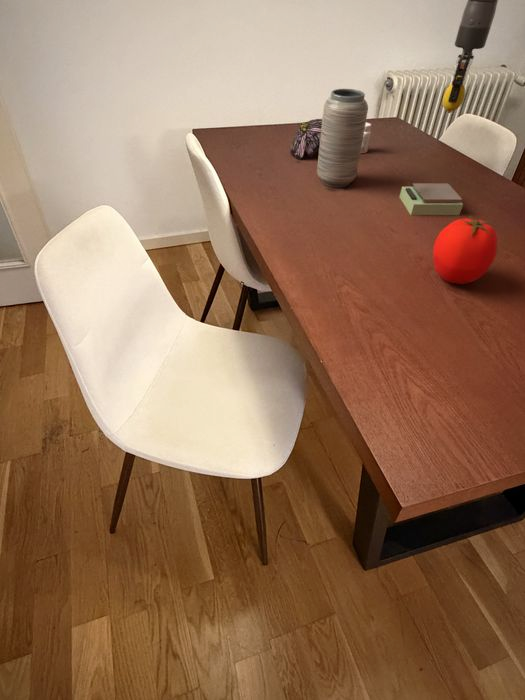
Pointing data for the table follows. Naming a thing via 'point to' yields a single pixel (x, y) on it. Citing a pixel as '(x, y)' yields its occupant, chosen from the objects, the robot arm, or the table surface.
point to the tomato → (464, 250)
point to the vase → (341, 137)
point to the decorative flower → (307, 139)
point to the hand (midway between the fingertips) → (453, 99)
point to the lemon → (456, 105)
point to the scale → (427, 204)
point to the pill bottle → (366, 138)
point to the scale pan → (436, 192)
